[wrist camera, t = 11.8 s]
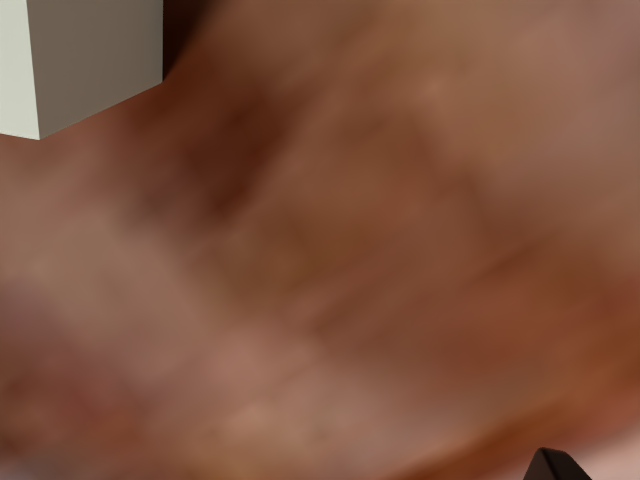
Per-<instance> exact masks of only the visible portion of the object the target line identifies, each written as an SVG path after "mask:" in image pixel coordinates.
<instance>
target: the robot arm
mask: <svg viewBox="0 0 640 480" xmlns="http://www.w3.org/2000/svg"><path fill="white" fill-rule="evenodd" d="M523 480H592V479H591V478H590V477H589V476H588V475H587V474H586V472H585V471H584V470H583V469H582V468H581V467H580V466H579V465H578V464H577V463H576V462H575V461H574V459H573V458H572V457H571V456H570V455H569V454H567V453H566V452H564V451H560V450H555V449H550V448H545V447H542V448H539V449H538V450H537V451H536V452H535V454H534V456H533V459H532V461H531V463H530V465H529V467H528V470H527V472H526V474H525V476H524V479H523Z"/></svg>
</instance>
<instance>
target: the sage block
mask: <svg viewBox="0 0 640 480" xmlns="http://www.w3.org/2000/svg"><path fill="white" fill-rule="evenodd" d="M162 64H163V0H0V133H2V134H8V135H14V136H20V137H25V138H31V139H37V140H41V139H43V138H45V137H47V136H49V135H51V134H53V133H56V132H58V131H60V130H62V129H64V128H66V127H68V126H70V125H73V124H75V123H77V122H79V121H81V120H83V119H85V118H87V117H90V116H92V115H94V114H96V113H98V112H100V111H102V110H105V109H107V108H109V107H111V106H113V105H115V104H117V103H119V102H122V101H124V100H126V99H128V98H130V97H132V96H134V95H136V94H139V93H141V92H143V91H145V90H147V89H149V88H151V87H154V86H156V85H158V84H160V83H162Z"/></svg>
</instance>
